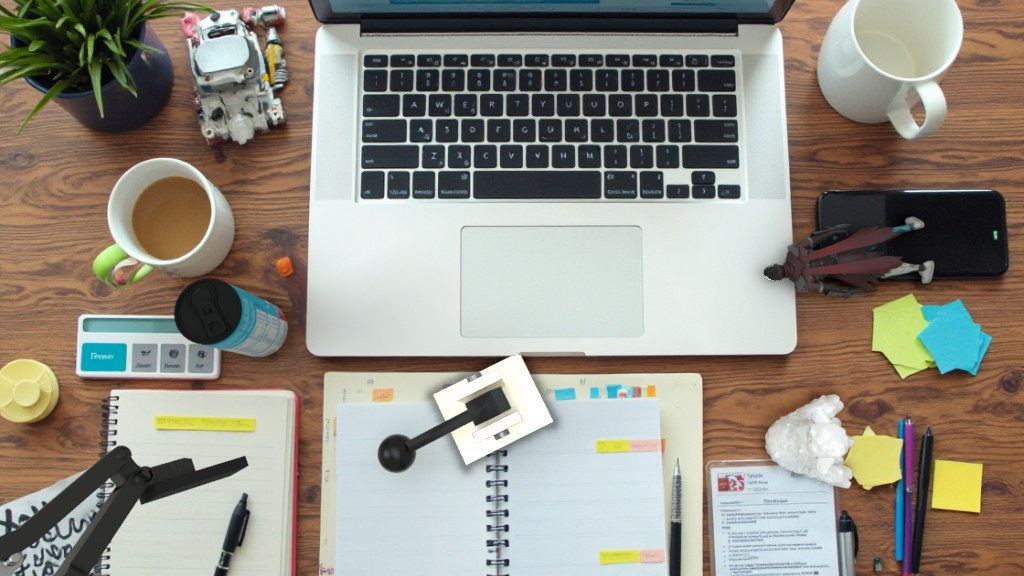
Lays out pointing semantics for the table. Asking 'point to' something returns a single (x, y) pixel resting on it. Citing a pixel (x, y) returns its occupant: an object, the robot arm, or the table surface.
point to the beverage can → (229, 319)
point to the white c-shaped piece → (505, 427)
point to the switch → (440, 431)
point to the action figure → (846, 260)
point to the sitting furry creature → (812, 442)
